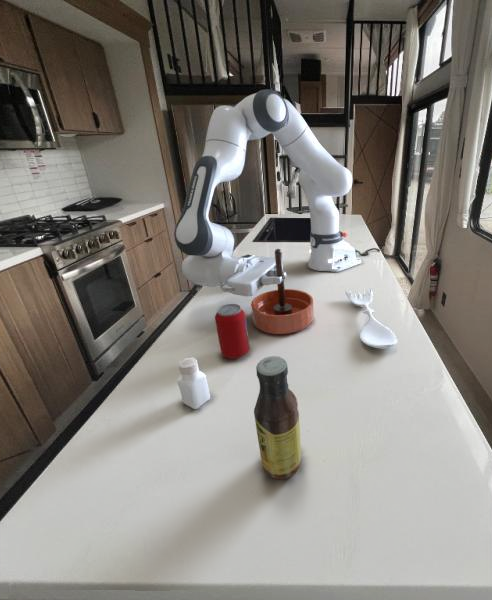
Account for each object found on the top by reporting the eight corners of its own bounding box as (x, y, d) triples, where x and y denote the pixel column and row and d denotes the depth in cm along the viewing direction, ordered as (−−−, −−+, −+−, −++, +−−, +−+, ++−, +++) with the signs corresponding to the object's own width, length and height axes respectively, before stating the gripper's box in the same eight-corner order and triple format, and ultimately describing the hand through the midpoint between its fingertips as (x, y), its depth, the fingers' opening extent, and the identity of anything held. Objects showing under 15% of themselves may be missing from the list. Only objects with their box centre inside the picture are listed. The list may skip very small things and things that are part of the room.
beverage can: (254, 347, 81) (249, 304, 76) (240, 363, 75) (233, 318, 70) (231, 343, 83) (224, 301, 78) (215, 358, 77) (207, 313, 72)
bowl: (296, 301, 104) (295, 284, 101) (325, 324, 91) (324, 304, 88) (244, 316, 96) (242, 298, 93) (268, 343, 83) (266, 322, 80)
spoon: (371, 296, 106) (372, 287, 104) (401, 353, 77) (403, 341, 76) (344, 298, 105) (344, 288, 104) (364, 355, 77) (365, 343, 75)
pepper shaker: (195, 411, 62) (185, 371, 58) (182, 403, 64) (171, 364, 60) (212, 398, 65) (203, 359, 61) (198, 391, 67) (189, 353, 63)
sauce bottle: (263, 448, 54) (249, 349, 45) (301, 445, 54) (294, 346, 46) (260, 486, 48) (243, 380, 39) (302, 482, 48) (295, 376, 40)
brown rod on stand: (287, 307, 95) (282, 244, 87) (295, 314, 91) (291, 249, 83) (271, 312, 93) (264, 248, 85) (278, 319, 89) (272, 253, 81)
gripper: (215, 276, 80) (266, 281, 77) (252, 252, 98) (295, 255, 95) (219, 299, 83) (268, 305, 80) (254, 271, 101) (296, 275, 97)
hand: (283, 277), depth 87 cm, fingers closed on brown rod on stand, 2 cm apart
